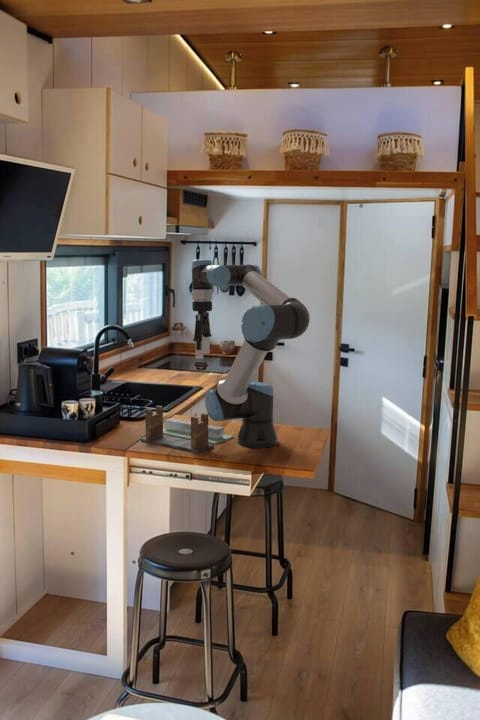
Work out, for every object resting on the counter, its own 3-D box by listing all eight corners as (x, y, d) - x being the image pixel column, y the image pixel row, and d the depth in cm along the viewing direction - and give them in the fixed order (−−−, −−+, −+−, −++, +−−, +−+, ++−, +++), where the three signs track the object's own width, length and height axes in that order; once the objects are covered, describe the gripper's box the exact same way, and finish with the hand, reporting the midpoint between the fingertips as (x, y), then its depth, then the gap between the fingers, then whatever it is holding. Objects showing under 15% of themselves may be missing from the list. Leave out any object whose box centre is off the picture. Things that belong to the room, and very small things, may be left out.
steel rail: (223, 437, 267) (223, 427, 266) (217, 439, 263) (217, 429, 263) (171, 427, 281) (171, 418, 281) (165, 429, 278) (165, 420, 277)
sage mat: (233, 437, 269) (233, 436, 269) (215, 444, 259) (215, 443, 259) (174, 426, 286) (174, 425, 286) (154, 432, 276) (154, 431, 276)
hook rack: (213, 447, 255) (213, 414, 253) (198, 453, 248) (198, 419, 246) (156, 435, 271) (156, 404, 269) (140, 440, 264) (140, 408, 262)
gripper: (199, 298, 276) (199, 351, 279) (185, 302, 252) (186, 360, 255) (217, 298, 275) (218, 351, 278) (205, 302, 251) (206, 360, 254)
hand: (202, 356), depth 267 cm, fingers open, 13 cm apart
